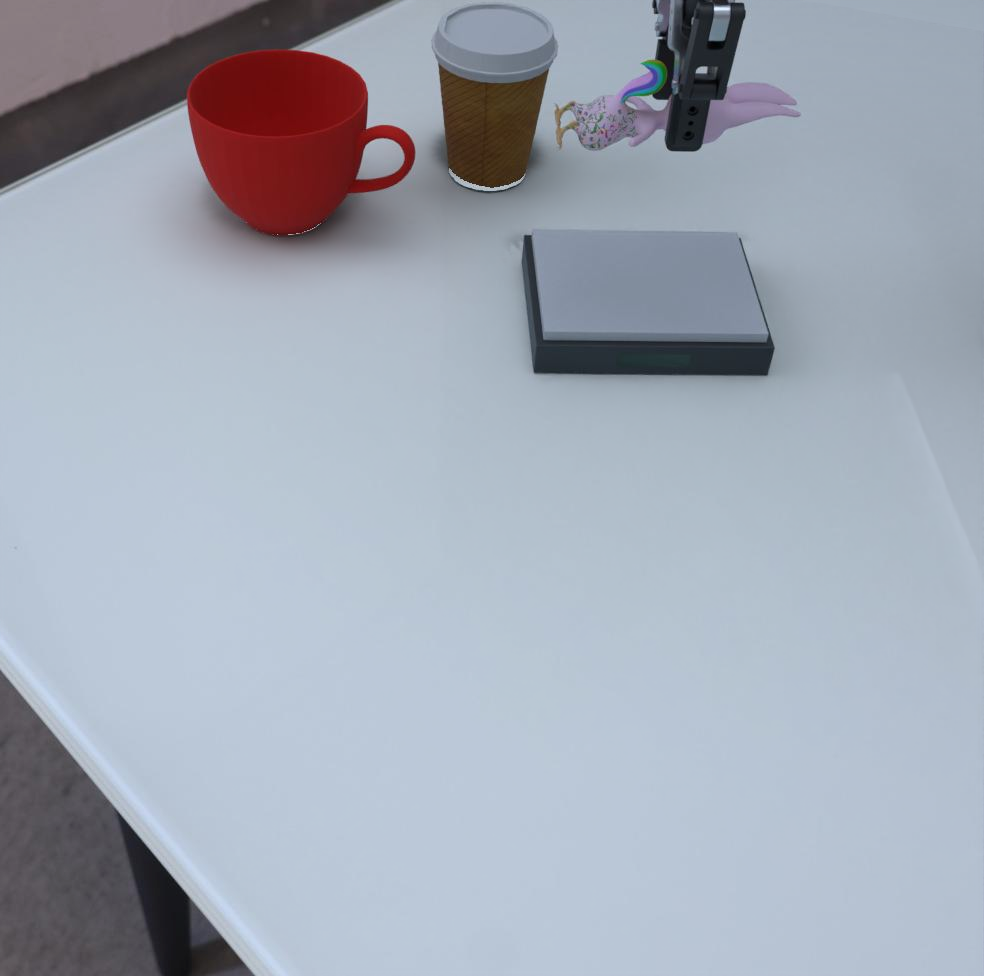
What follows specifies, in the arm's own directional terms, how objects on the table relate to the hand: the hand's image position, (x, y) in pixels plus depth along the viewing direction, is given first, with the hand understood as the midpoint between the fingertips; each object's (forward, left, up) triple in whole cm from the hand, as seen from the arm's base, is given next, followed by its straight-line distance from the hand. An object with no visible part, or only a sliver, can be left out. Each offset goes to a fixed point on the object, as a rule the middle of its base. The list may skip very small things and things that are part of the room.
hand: (674, 121), depth 82 cm
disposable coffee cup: (+10, -19, -16) cm, 27 cm away
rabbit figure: (0, 0, -2) cm, 2 cm away
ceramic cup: (+24, -12, -16) cm, 31 cm away
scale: (0, 0, -15) cm, 15 cm away
